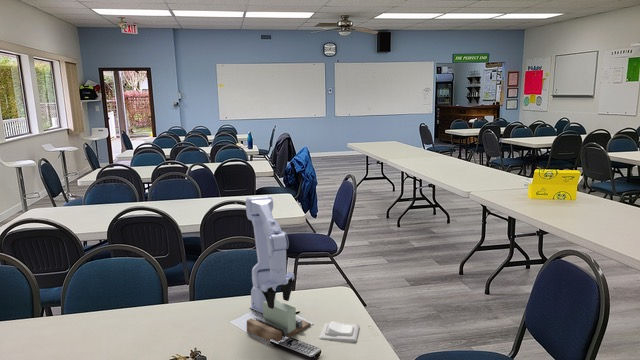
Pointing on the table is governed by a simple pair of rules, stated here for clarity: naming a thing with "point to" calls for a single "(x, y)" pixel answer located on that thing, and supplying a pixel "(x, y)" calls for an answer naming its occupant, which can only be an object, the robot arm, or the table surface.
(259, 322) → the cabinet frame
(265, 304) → the pale green foam block
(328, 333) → the light switch
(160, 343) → the table surface
